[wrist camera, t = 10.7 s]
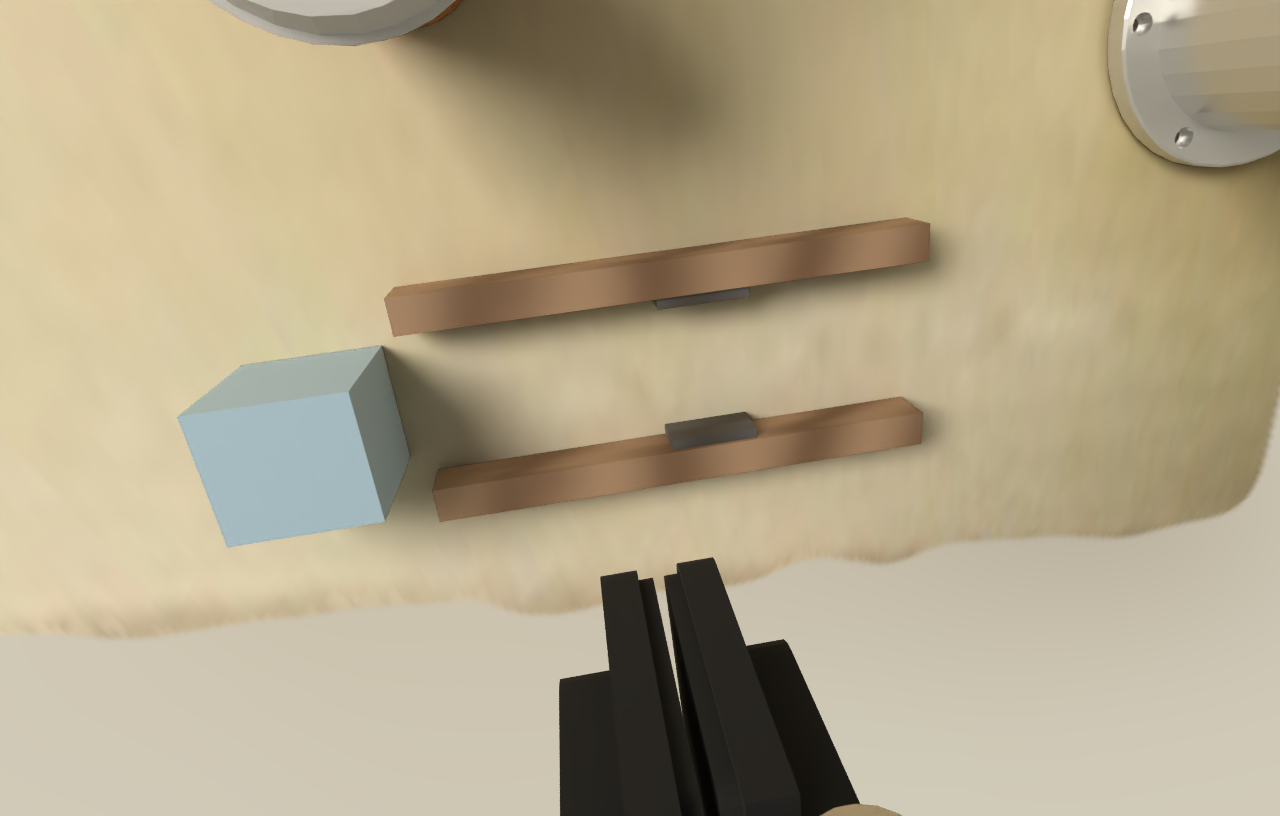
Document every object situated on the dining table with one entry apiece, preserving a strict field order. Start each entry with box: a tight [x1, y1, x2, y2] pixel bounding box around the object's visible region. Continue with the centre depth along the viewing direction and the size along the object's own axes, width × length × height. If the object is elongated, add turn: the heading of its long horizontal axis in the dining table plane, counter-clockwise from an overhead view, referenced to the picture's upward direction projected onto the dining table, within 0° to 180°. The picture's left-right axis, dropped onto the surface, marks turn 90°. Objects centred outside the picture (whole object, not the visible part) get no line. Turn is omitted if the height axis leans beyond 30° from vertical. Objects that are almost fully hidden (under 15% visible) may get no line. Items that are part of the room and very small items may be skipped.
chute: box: [384, 218, 930, 522], centre depth 33 cm, size 23×10×2 cm, turn 97°
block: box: [177, 346, 410, 547], centre depth 30 cm, size 6×6×6 cm
